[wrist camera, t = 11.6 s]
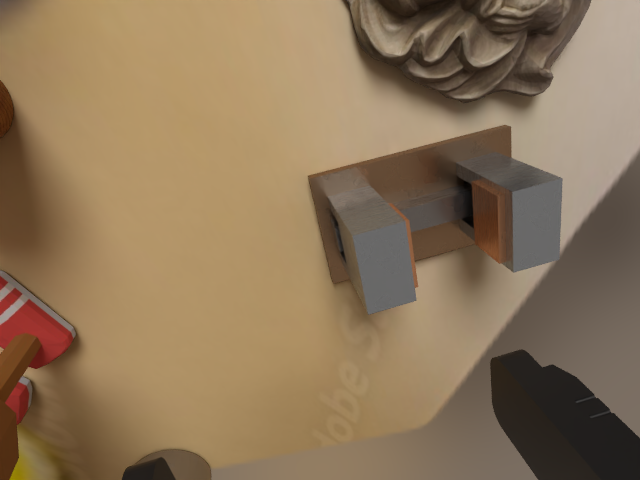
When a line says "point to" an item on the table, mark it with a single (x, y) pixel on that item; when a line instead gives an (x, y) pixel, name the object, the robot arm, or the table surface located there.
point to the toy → (23, 358)
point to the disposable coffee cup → (5, 110)
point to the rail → (455, 200)
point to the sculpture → (469, 41)
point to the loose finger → (375, 248)
